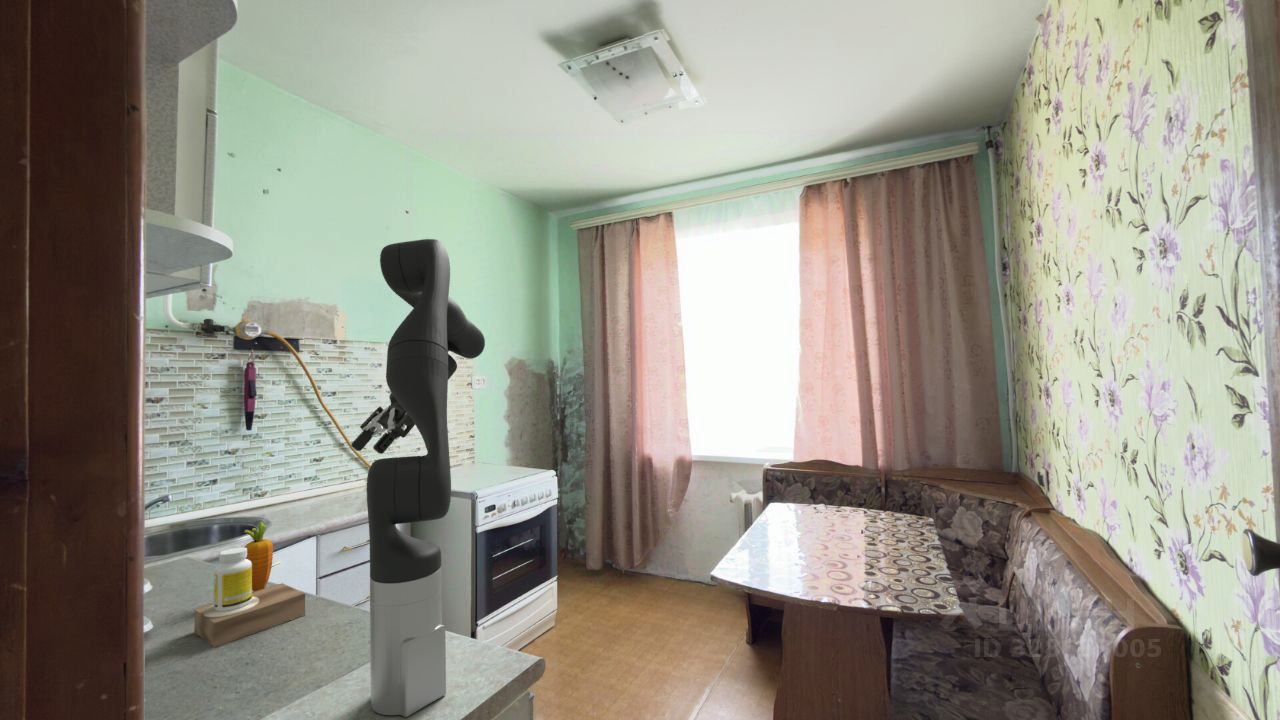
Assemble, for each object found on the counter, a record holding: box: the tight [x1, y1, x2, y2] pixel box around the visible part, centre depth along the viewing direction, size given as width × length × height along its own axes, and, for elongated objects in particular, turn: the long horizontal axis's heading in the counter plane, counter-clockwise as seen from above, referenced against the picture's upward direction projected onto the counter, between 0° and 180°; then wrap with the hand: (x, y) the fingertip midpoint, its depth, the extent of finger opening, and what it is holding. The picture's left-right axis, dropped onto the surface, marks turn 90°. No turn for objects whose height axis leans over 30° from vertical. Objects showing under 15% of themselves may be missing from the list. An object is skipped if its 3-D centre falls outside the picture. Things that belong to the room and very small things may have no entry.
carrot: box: [243, 521, 274, 592], centre depth 110 cm, size 5×5×15 cm
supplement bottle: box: [213, 547, 253, 611], centre depth 95 cm, size 5×5×10 cm
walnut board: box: [193, 583, 306, 648], centre depth 97 cm, size 10×14×4 cm
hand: (365, 449), depth 104 cm, fingers open, 8 cm apart
